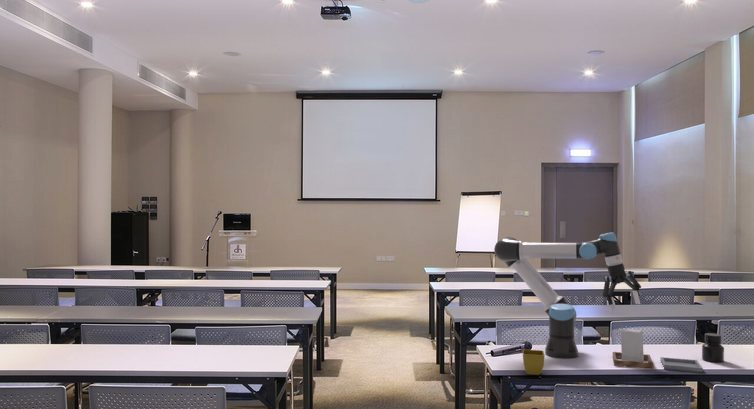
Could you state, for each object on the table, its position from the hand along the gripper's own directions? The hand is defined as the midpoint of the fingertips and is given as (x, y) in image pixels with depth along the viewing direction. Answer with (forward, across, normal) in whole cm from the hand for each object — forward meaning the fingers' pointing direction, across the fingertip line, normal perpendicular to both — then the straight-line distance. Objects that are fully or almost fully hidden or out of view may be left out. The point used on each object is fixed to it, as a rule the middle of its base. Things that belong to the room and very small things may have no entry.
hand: (626, 307), depth 295 cm
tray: (+27, +3, -23) cm, 36 cm away
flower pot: (+13, -65, -20) cm, 70 cm away
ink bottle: (+31, +27, -16) cm, 44 cm away
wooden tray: (+22, -13, -12) cm, 29 cm away
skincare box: (+23, -13, -12) cm, 29 cm away
